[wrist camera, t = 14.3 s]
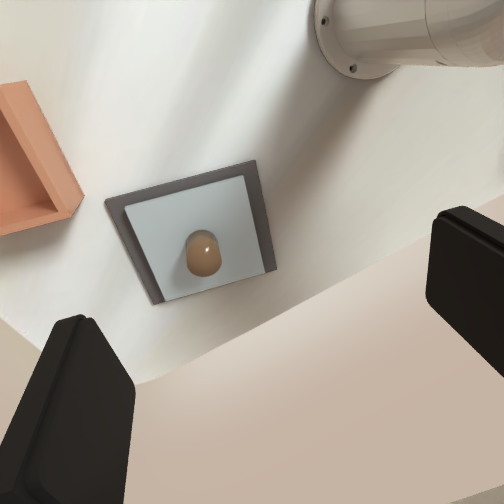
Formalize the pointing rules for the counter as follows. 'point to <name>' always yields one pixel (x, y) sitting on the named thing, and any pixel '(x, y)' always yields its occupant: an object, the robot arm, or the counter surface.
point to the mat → (245, 169)
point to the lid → (198, 237)
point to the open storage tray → (31, 165)
